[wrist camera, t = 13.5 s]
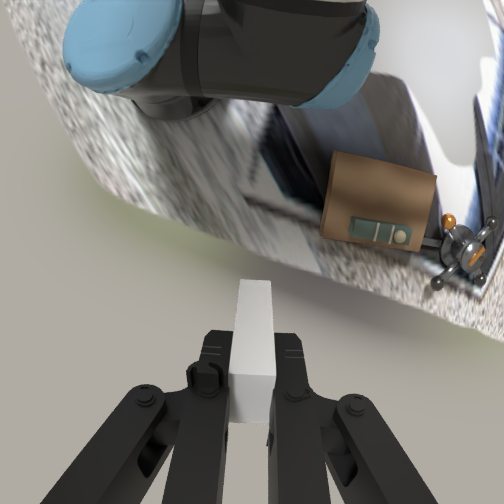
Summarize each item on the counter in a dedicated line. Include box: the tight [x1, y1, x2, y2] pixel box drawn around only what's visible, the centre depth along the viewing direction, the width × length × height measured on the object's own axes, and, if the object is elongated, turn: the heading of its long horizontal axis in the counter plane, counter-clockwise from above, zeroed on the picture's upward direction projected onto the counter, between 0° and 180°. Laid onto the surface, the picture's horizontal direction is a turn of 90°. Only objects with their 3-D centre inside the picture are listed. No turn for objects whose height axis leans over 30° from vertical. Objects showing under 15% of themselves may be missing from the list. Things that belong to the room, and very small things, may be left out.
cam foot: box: [405, 224, 474, 267], centre depth 44 cm, size 8×17×2 cm, turn 83°
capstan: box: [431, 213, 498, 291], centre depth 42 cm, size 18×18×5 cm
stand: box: [319, 151, 437, 252], centre depth 40 cm, size 12×16×8 cm
